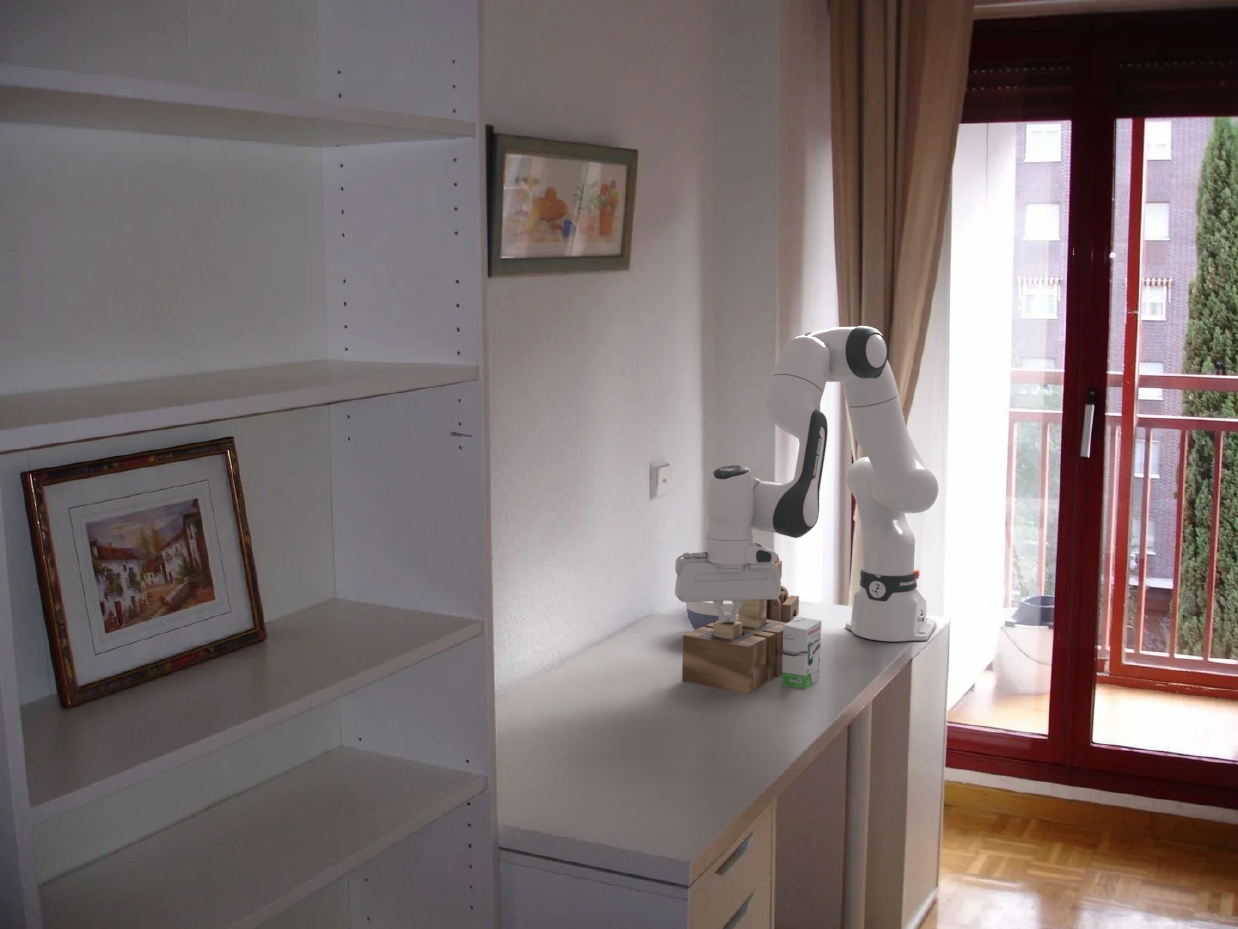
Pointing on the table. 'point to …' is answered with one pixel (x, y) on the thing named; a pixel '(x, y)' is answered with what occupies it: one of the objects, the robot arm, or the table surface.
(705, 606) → the bowl
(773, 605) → the wooden puzzle
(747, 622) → the peg
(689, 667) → the socket block
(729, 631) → the peg
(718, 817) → the table surface
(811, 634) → the ink box
